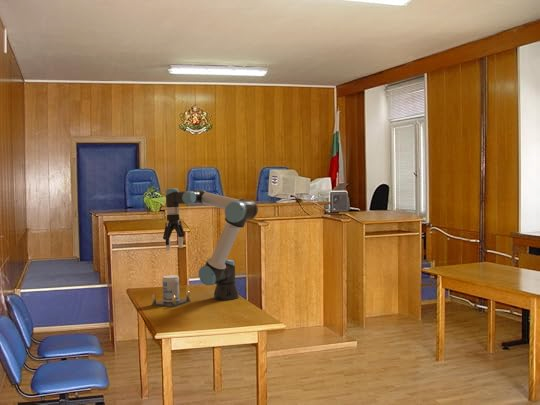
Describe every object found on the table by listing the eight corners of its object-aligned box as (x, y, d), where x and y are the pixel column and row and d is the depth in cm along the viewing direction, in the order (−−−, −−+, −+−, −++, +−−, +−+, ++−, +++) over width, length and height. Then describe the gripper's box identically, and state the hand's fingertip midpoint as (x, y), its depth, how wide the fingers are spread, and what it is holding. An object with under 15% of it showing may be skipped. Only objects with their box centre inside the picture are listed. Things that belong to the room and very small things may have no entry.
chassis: (190, 301, 361) (190, 291, 361) (174, 307, 347) (173, 296, 347) (168, 299, 368) (168, 289, 368) (151, 305, 354) (151, 294, 354)
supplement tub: (160, 303, 354) (159, 277, 353) (166, 299, 363) (164, 275, 363) (177, 302, 352) (175, 277, 352) (181, 299, 362) (180, 274, 361)
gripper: (178, 212, 381) (180, 246, 382) (155, 215, 358) (157, 251, 359) (189, 212, 378) (190, 246, 379) (166, 215, 355) (168, 251, 356)
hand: (174, 249), depth 369 cm, fingers open, 13 cm apart
